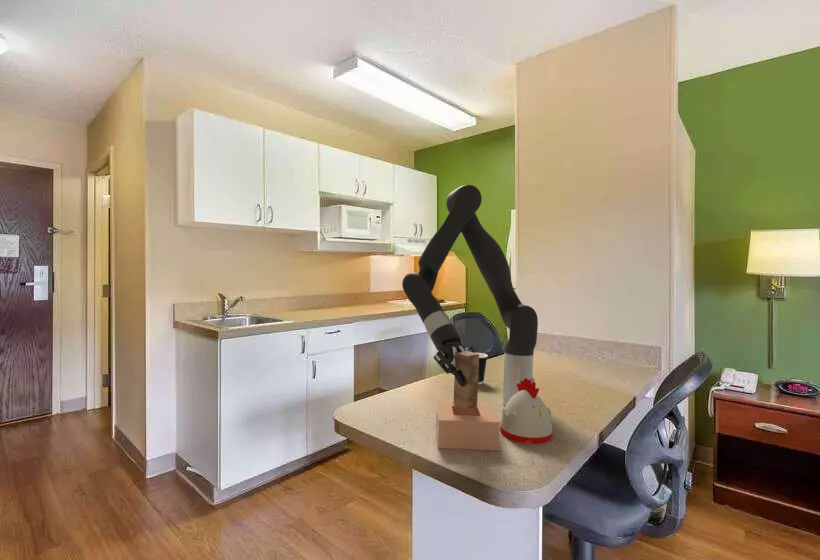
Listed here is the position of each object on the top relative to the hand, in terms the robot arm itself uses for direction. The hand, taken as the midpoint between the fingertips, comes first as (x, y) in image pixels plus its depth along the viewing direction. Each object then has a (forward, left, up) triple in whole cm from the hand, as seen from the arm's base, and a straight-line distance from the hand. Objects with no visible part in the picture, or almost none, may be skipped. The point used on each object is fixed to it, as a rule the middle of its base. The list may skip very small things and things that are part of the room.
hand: (471, 383), depth 109 cm
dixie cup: (-9, -53, -15) cm, 56 cm away
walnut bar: (+1, -1, -6) cm, 7 cm away
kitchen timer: (-16, -5, -15) cm, 23 cm away
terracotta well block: (+1, -1, -15) cm, 15 cm away
